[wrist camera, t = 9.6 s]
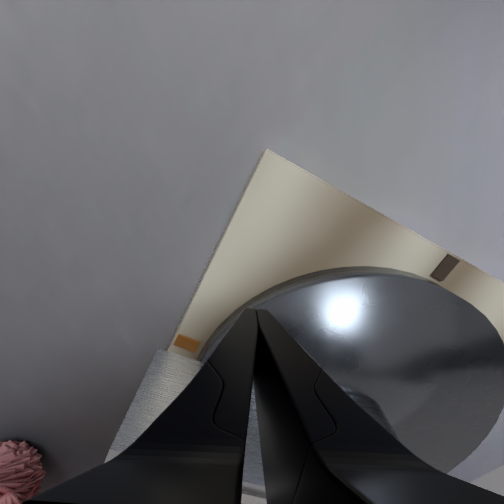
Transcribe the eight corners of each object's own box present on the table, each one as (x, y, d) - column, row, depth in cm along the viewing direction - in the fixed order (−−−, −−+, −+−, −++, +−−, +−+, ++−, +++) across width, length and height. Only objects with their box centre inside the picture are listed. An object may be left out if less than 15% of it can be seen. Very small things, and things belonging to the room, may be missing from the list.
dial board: (554, 314, 14) (591, 332, 13) (360, 495, 20) (370, 522, 18) (263, 150, 11) (266, 147, 9) (128, 429, 16) (116, 456, 15)
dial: (553, 338, 13) (758, 450, 8) (372, 508, 18) (423, 643, 13) (227, 183, 9) (208, 201, 4) (118, 446, 14) (50, 595, 9)
